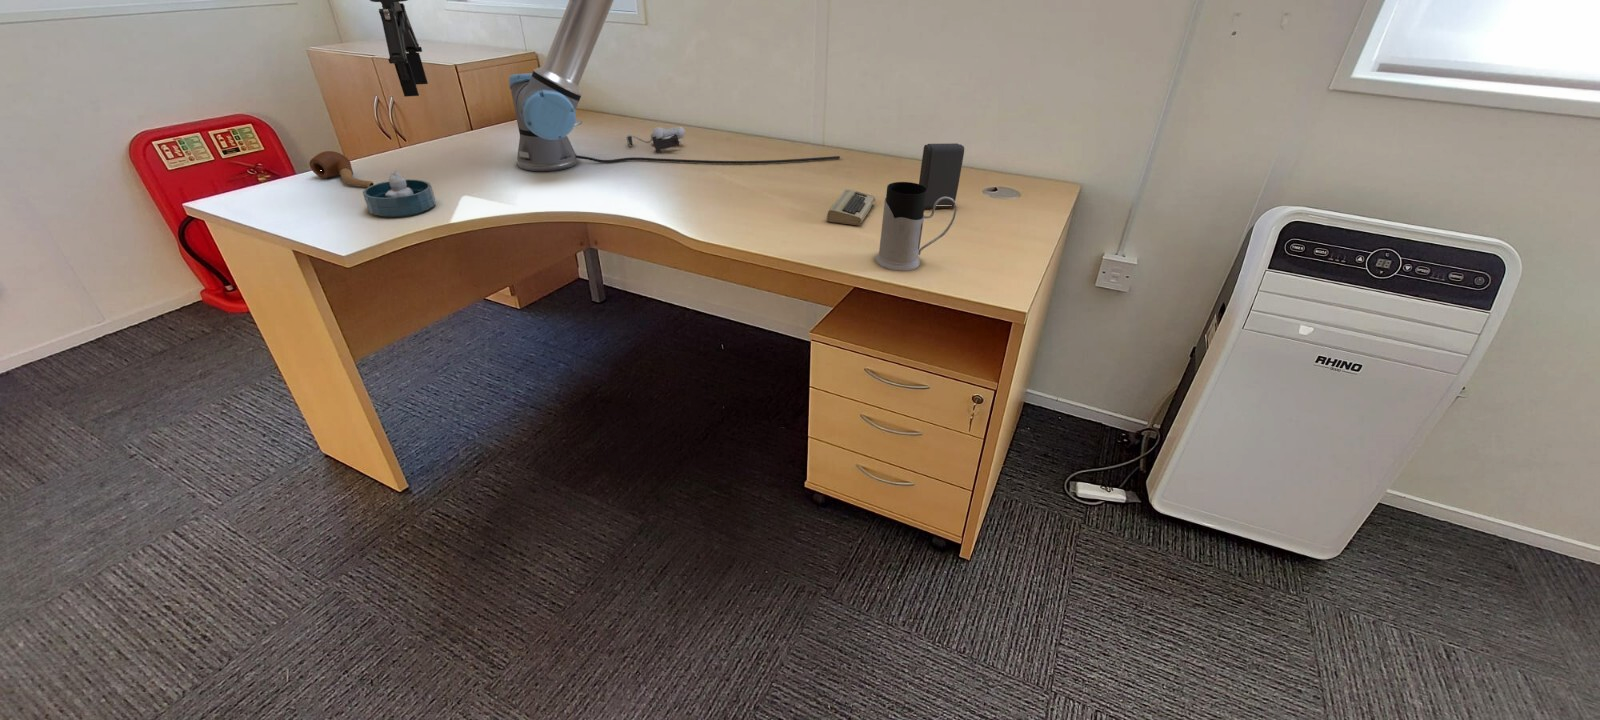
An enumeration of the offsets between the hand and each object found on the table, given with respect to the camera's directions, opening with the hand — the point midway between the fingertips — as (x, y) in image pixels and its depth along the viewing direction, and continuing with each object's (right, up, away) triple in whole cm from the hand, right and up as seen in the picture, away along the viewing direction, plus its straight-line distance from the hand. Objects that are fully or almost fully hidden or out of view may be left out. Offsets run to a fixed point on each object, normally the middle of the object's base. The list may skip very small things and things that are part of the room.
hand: (416, 89), depth 143 cm
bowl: (-4, -26, +1) cm, 26 cm away
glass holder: (+108, -41, -14) cm, 116 cm away
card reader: (+119, -23, +14) cm, 122 cm away
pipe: (-26, -16, +16) cm, 34 cm away
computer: (+98, -26, +9) cm, 101 cm away
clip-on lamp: (+42, +4, +50) cm, 66 cm away
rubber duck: (-4, -26, +1) cm, 26 cm away
